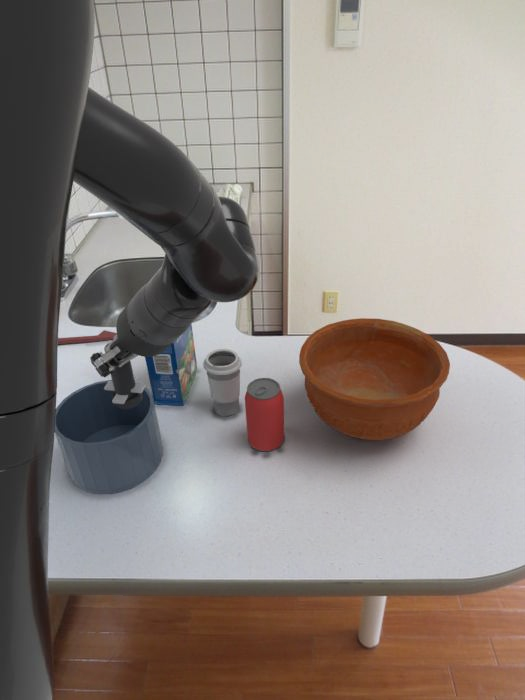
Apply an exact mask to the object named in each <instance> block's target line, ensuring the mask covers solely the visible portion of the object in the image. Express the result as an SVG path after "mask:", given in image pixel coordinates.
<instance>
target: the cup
mask: <svg viewBox="0 0 525 700" xmlns="http://www.w3.org/2000/svg"><path fill="white" fill-rule="evenodd" d="M242 364H243V362H242V360H241V358H240V356H239V354H238V353H237V352H236V351H234V350H232V349H229V348H217V349H214V350H212V351H210V352H208V353H207V354H206V356H205V358H204V360H203V364H202V365H203V368H204V370H205V371H206V376H207V381H208V386H209V390H210V396H211V398H212V401H213V402H212V403H213V407H214V411H215V413H216V414H217V415H219V416H220V417H230V416H233V415H235V414H236V413H238V411H239V410H240V394H241V367H242Z"/></svg>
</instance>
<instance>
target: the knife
mask: <svg viewBox="0 0 525 700" xmlns="http://www.w3.org/2000/svg"><path fill="white" fill-rule="evenodd" d="M116 334H117V332H114V331H110V330H105V329H104V330H102V331H101V332H100V333H98V334H97V335H85V336H84V335H82V336H69V337H58V345H65V344H67V345H68V344H78V343H79V344H81V343H82V344H83V343H97V342H103V341H112V340H114V336H115V335H116Z"/></svg>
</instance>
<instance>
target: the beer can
mask: <svg viewBox="0 0 525 700" xmlns="http://www.w3.org/2000/svg"><path fill="white" fill-rule="evenodd" d="M284 401H285V397H284V394H283V391H282V389H281V384H280V383H279V382H278V381H277V380H275V379H273V378H269V377H259V378H255V379H253V380H252V381H250V382H249V383H248V384H247V387H246V392H245V395H244V406H245V407H244V408H245V409H244V410H245V421H246V422H245V423H246V435H247V442H248V443H249V445H250V447H252V448H253V449H254V450H257V451H259V452H260V451H261V452H270V451H274V450H276V449H278V448H279V447H281V446H282V444H283V443H284V441H285V402H284Z"/></svg>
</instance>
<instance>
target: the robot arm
mask: <svg viewBox="0 0 525 700" xmlns="http://www.w3.org/2000/svg"><path fill="white" fill-rule="evenodd" d="M95 18H96V17H95V0H0V700H53V698H54V689H55V688H54V687H55V665H54V652H53V651H54V650H53V648H54V647H53V637H52V621H51V610H50V608H51V607H50V595H49V594H50V591H49V541H50V540H49V535H50V532H49V531H50V490H51V478H52V477H51V476H52V464H53V455H54V445H55V414H56V408H57V393H58V346H59V344H58V338H59V326H60V325H59V323H60V312H61V302H62V301H61V299H62V287H63V276H64V266H65V265H64V264H65V254H66V253H65V252H66V251H65V250H66V240H67V230H68V220H69V212H70V205H71V199H72V193H73V186H74V183H75V184H77V185H78V186H79V187H81V188H83V189H84V190H85V191H86V192H88V193H90V194H91V195H93V196H94V197H96V198H97V199H98V200H99V201H101V202H102V203H104V204H105V205H106V206H108V207H109V208H111V209H112V210H113V211H114V212H116V213H117V214H118V215H119V216H121V218H123V219H125V220H126V221H127V222H128V223H130V225H132V226H133V227H134V228H135V229H137V230H138V231H139V232H141V233H142V234H144V235H145V236H146V237H147V238H148V239H150V240H151V241H153V242H154V243H155V244H157V246H159V247H161V249H162V251H163V252H164V253H165V254H164V257H163V261H162V265H161V267H160V268H159V269H158V270H157V271H156V272H155V273H154V275H153V276H152V277H151V278H150V279H149V281H147V283H145V284H144V285H143V286H142V287H141V288H140V289H138V291H137V292H136V293H135V294H134V296H133V297H132V298H131V300H130V301H129V302H128V303H127V304H126V306H125V307H124V308H123V309H122V311H121V312H120V313H119V315H118V317H117V320H116V325H115V327H116V328H115V329H116V333H117V334H116V335H115V336H114V339H112V340H111V341H110V342H111V343H110V342H109V343H110V344H109V345H108V346H107V347H106V348H105V347H104V348H105V350H106V353H105V352H104V353H103V352H102V351H99V352H94V353H92V354H91V356H90V357H89V359H90V363H91V365H92V366H94V368H95V371H96V372H97V374H99V376H100V377H103V378H107V377H109V376H110V375H111V374H110V373H111V372H112V371H114V370H116V368H117V367H122V366H123V365H125V364H126V363H128V362H129V361H132V360H134V359H135V358H136V357H138V356H140V357H142V358H143V357H144V358H145V357H153V356H156V355H159V354H161V353H162V352H163V351H165V350H166V349H167V348H168V347H169V346H170V345H171V344H172V343H173V342H174V341H176V340H177V339H178V338H179V337H180V336H181V335H182V334H183V333H184V332H185V331H186V330H187V329H188V328H189V326H190V325H191V324H193V323H194V322H195V321H196V320H197V319H198V318H199V317H200V316H201V315H202V314H204V312H205V311H206V310H208V308H209V307H210V306H211V305H212V303H213V302H216V303H233V302H236V301H239V300H242V299H243V298H245V297H246V296H247V295H249V294H250V293H252V291H253V290H254V288H255V287H256V285H257V283H258V281H259V277H260V271H261V270H260V261H259V258H258V253H257V250H256V246H255V243H254V239H253V235H252V231H251V226H250V223H249V218H248V216H247V213H246V212H245V209H244V208H243V207H242V206H241V204H240V203H238V202H237V201H235V200H234V199H232V198H230V197H226V196H219V195H218V193H217V191H216V190H215V188H214V187H213V185H211V182H209V181H208V180H207V178H206V177H205V176H204V174H203V173H202V172H201V171H200V170H199V168H198V167H197V166H196V165H195V164H194V163H193V162H192V160H191V159H190V158H189V157H188V156H187V155H186V153H185V152H183V150H182V149H181V148H179V147H178V146H177V145H176V144H175V143H174V142H173V141H172V140H170V138H168V137H167V136H165V135H164V134H162V133H161V132H160V131H158V130H157V129H156V128H154V127H153V126H151V125H149V124H148V123H146V122H145V121H143V120H142V119H140V118H139V117H137V116H135V115H133V114H132V113H130V112H129V111H128V110H125V109H123V108H122V107H120V106H119V105H117V104H116V103H114V102H112V101H111V100H110V99H108V98H106V97H104V96H103V95H101V94H100V93H98V92H97V91H96V90H94V89H93V88H91V87H89V86H90V80H91V79H90V78H91V72H92V62H93V52H94V45H95V44H94V43H95V24H96V23H95ZM105 350H104V351H105ZM112 359H113V360H112Z"/></svg>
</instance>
